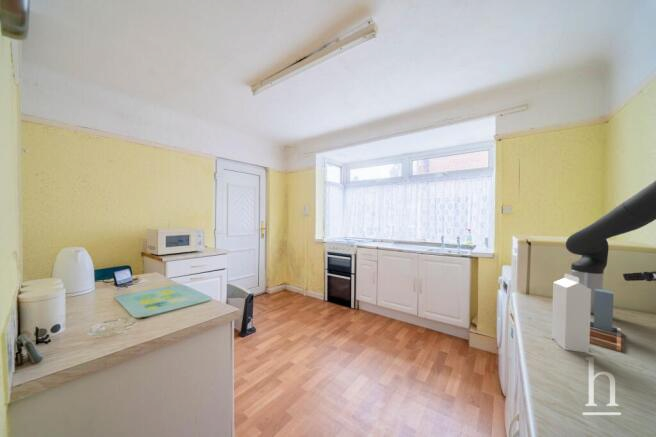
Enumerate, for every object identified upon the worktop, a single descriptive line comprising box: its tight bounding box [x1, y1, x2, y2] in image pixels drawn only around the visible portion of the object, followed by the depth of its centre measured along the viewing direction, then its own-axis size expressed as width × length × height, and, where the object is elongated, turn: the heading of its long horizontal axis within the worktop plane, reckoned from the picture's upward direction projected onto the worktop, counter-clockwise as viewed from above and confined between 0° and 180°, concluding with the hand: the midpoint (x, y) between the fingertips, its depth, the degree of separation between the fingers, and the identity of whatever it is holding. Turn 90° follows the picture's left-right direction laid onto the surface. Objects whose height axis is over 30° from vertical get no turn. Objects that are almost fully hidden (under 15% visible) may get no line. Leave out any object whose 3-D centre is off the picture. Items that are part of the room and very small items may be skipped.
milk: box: [551, 273, 591, 353], centre depth 73 cm, size 6×6×22 cm
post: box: [593, 289, 615, 332], centre depth 80 cm, size 4×4×14 cm
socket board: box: [589, 320, 626, 354], centre depth 77 cm, size 19×9×2 cm, turn 129°
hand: (629, 276), depth 75 cm, fingers open, 8 cm apart
